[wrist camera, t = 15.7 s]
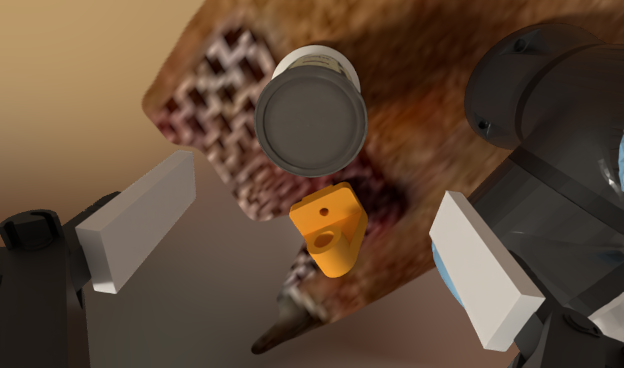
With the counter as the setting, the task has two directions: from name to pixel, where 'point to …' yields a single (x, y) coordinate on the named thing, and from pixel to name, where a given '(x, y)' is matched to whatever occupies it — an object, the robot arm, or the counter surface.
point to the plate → (318, 50)
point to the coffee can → (311, 117)
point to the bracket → (331, 227)
